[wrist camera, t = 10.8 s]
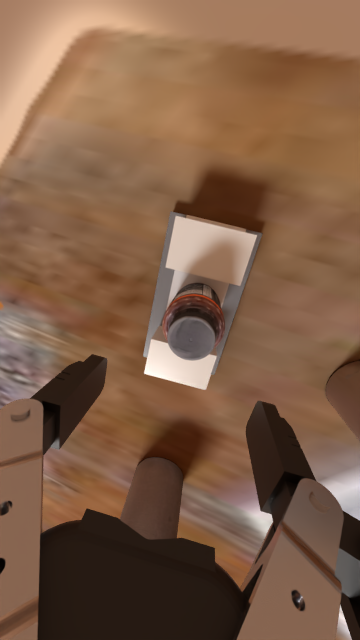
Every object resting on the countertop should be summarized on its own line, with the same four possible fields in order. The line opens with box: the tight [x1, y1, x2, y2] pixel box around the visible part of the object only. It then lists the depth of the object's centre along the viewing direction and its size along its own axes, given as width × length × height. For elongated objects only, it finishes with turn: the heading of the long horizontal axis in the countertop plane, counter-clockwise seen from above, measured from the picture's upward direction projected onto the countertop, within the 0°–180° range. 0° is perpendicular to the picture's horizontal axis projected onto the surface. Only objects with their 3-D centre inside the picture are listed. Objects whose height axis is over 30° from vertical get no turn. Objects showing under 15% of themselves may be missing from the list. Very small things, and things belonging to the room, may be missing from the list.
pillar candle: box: [120, 457, 183, 540], centre depth 35 cm, size 10×10×15 cm
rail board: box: [143, 212, 263, 390], centre depth 26 cm, size 20×11×6 cm, turn 167°
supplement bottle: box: [162, 283, 225, 361], centre depth 22 cm, size 6×6×11 cm
